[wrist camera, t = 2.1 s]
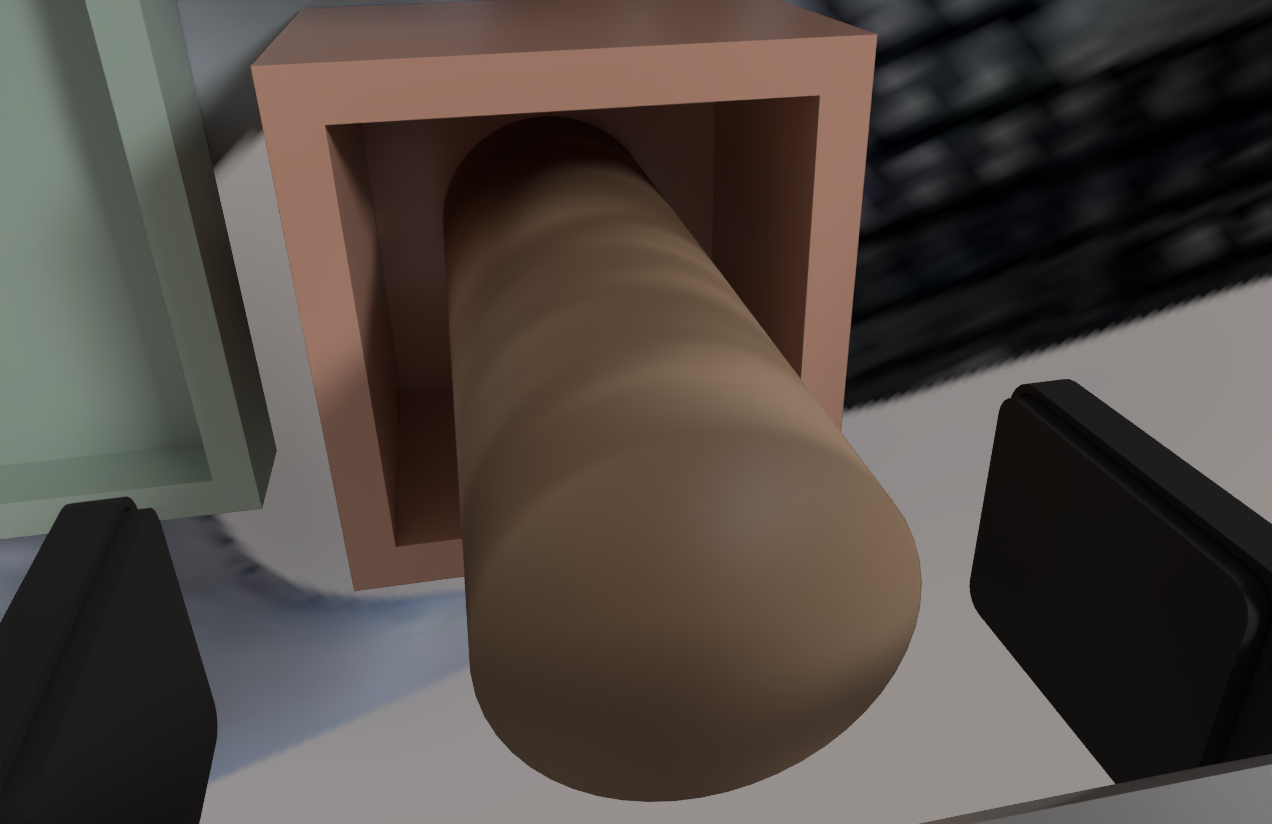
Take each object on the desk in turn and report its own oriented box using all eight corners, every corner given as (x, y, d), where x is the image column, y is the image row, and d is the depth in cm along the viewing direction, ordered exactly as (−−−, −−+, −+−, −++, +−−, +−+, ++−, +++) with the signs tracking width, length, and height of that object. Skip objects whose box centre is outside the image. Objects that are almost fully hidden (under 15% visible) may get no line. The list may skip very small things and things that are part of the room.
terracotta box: (747, -11, 20) (876, 34, 14) (735, 374, 24) (831, 528, 18) (302, 8, 18) (250, 66, 13) (371, 413, 23) (354, 591, 17)
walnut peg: (651, 109, 20) (949, 409, 9) (654, 311, 22) (896, 764, 11) (430, 123, 19) (443, 467, 8) (455, 330, 21) (492, 834, 10)
